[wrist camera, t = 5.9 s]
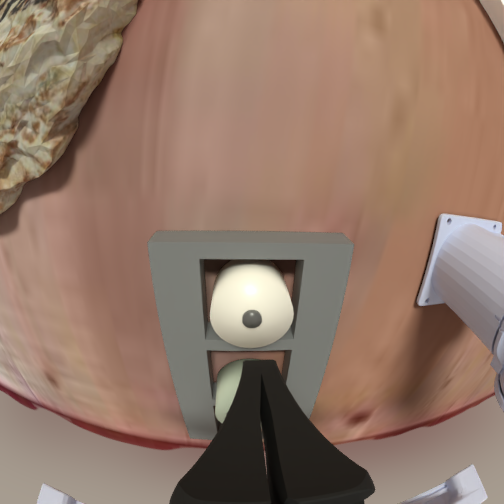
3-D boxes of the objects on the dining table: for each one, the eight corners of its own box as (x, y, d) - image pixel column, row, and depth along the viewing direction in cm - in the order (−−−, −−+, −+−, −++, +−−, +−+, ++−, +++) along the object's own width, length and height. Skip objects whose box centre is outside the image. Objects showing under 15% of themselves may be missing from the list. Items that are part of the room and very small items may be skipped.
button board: (342, 233, 17) (354, 244, 15) (299, 422, 26) (302, 436, 24) (156, 231, 17) (147, 242, 15) (191, 423, 25) (190, 438, 23)
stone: (159, -109, 2) (78, 251, 11) (173, -71, 8) (122, 219, 17) (-23, -20, 1) (-65, 235, 10) (7, -8, 6) (-27, 215, 15)
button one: (288, 256, 18) (298, 283, 14) (282, 316, 19) (289, 350, 16) (212, 255, 17) (207, 283, 14) (215, 316, 19) (211, 351, 16)
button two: (283, 357, 18) (290, 396, 15) (277, 396, 20) (282, 431, 17) (215, 358, 18) (212, 397, 15) (218, 397, 20) (217, 433, 17)
